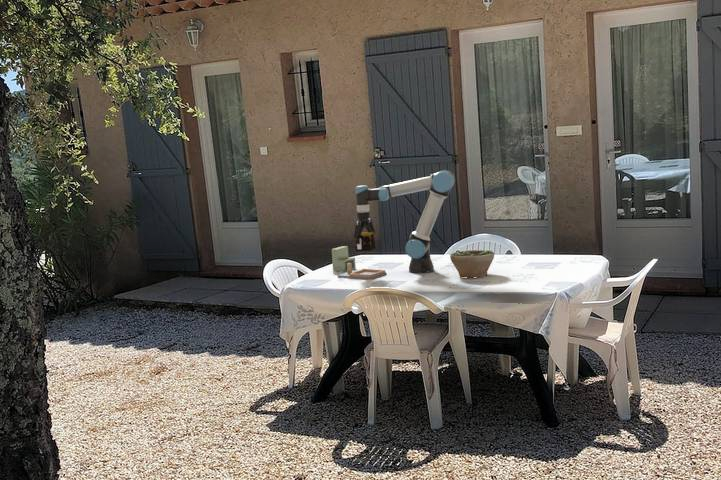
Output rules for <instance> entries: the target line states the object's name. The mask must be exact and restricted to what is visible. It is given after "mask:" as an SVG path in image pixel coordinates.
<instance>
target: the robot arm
mask: <svg viewBox="0 0 721 480" xmlns="http://www.w3.org/2000/svg"><path fill="white" fill-rule="evenodd" d="M455 183H456V177H455V174H454V173H453V172H452V171H450V170H448V169H443V170H440V171H437V172H435V173H430V176H425V177H419V178H416V179H411V180H405V181H402V182H397V183H391V184H387V185H381V186H379V187H378V188H369V186H368V185H357V186H356V187H355V201H356V212H357V213H356V218H357V219H358V221H355V227H354V234H353V238H354V239H355V238H356V240H357V249H362V245H361V238H360V237H361V234H362V232H363V231H364V229H366V230H367V231H366V232H374V236H375V234H376V229H375V226H374V224H373V223H374V222H373V219H372V218H370V217H371V216H370V215H371V214H370V213H371V212H370V202H384V201H388V200H389V198H393V197H397V196H402V195H408V194H414V193H417V192H418V193H419V192H422V191H423V192H424V191H428V190H429V193H430V194H429V197H428V198H427V200H426V201H427V202H426V204H425V207H424V209H423V211H422V214H421V217H420V218H419V221H418V223H417V226H416V229H415V231H412V232H411V234H410V235H409V240H408V241H407V243H406V244H405V253H406V255H407V256H408V257H410V258H411V259H410V263H409V266H408V271H409V273H413V274H414V273H415V274H424V273H430V272H434V271H435V266H434V263H433V261H432V259H431V247H430V246H431V244H430V242H431V237H430V235H431V233H432V230H433V227H434V225H435V223H436V221H437V217H438V215H439V213H440V211H441V207H442V205H443V203H444V200H445V199H447V198H448V197H449V195H450V192H451V190H452V187H453V186H454V185H455Z"/></svg>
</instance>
